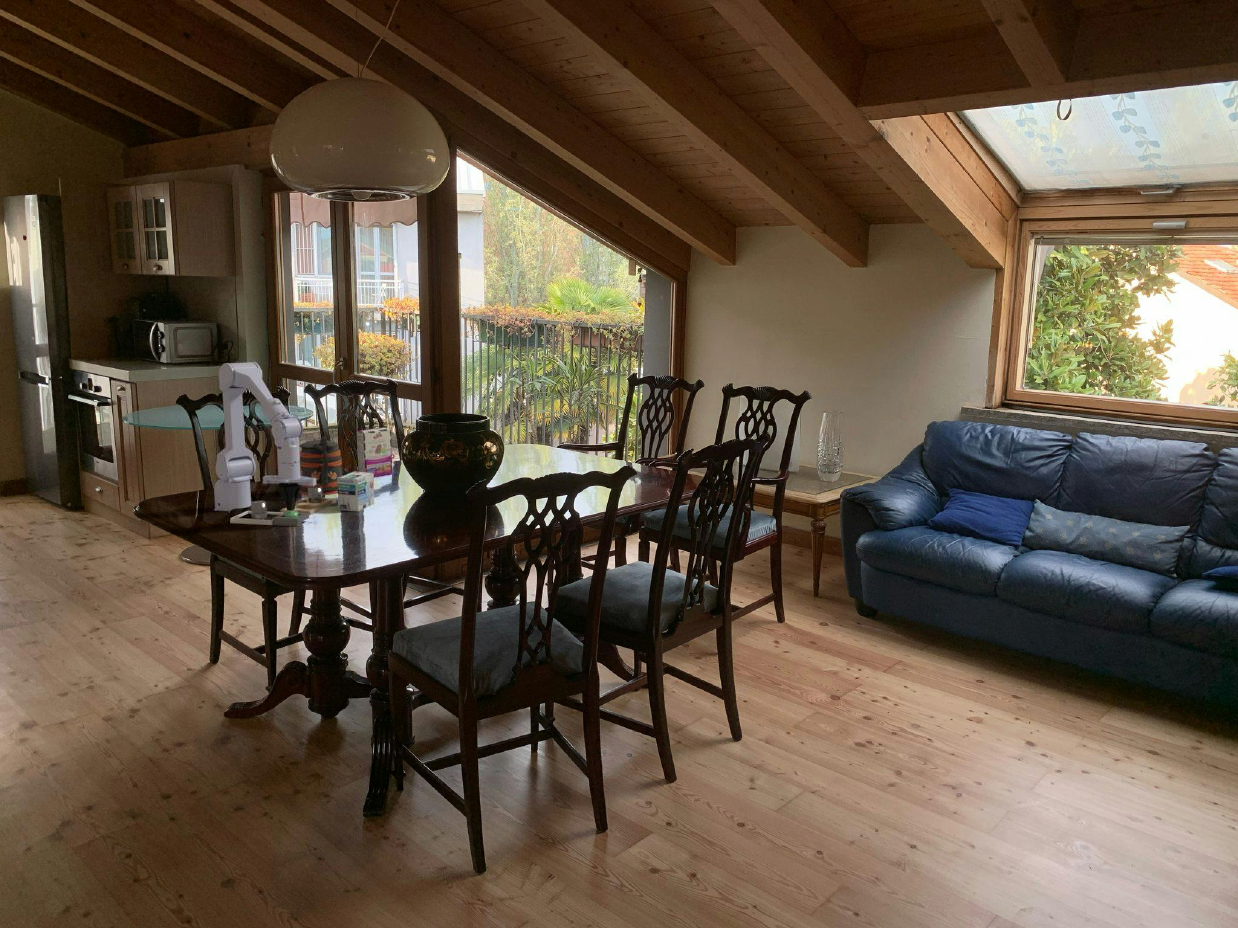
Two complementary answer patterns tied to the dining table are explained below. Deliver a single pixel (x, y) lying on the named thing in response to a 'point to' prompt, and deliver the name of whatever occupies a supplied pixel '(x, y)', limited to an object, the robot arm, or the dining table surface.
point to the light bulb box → (355, 491)
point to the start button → (291, 514)
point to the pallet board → (310, 506)
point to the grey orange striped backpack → (321, 465)
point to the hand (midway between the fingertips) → (290, 509)
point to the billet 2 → (315, 494)
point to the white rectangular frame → (253, 521)
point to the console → (290, 519)
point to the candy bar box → (375, 451)
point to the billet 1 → (259, 510)
